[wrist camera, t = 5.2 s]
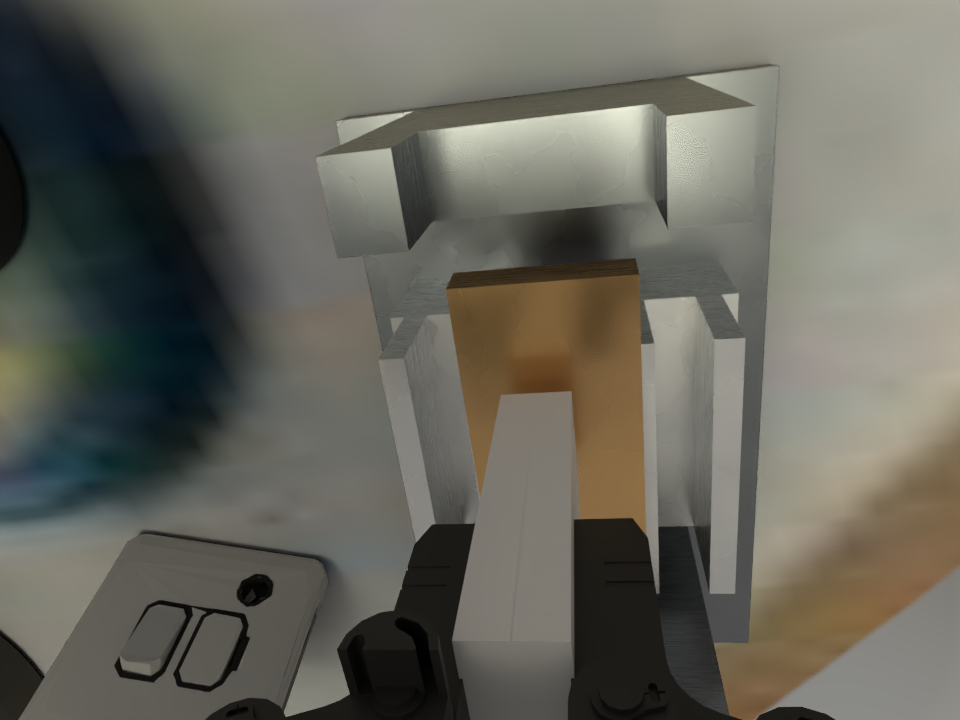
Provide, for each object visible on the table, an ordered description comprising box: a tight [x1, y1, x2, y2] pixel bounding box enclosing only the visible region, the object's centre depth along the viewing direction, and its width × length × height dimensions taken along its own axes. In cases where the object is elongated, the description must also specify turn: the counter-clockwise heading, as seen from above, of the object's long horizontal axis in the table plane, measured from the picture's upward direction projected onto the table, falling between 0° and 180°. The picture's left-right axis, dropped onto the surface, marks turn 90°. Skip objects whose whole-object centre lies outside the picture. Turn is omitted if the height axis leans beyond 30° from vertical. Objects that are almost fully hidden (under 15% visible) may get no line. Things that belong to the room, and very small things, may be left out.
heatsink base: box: [315, 64, 779, 716], centre depth 21 cm, size 22×13×10 cm, turn 7°
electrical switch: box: [19, 534, 329, 720], centre depth 28 cm, size 9×5×9 cm, turn 86°
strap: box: [446, 258, 646, 535], centre depth 18 cm, size 15×4×1 cm, turn 7°
